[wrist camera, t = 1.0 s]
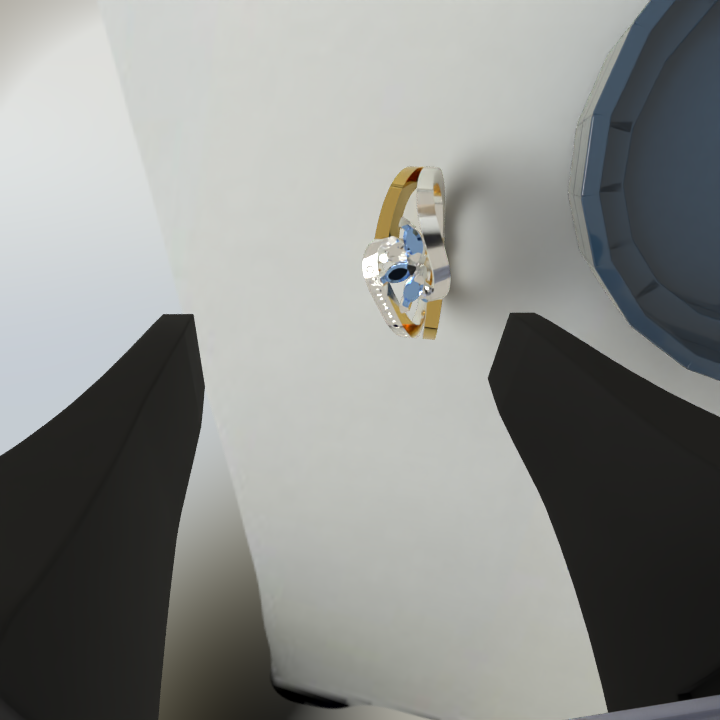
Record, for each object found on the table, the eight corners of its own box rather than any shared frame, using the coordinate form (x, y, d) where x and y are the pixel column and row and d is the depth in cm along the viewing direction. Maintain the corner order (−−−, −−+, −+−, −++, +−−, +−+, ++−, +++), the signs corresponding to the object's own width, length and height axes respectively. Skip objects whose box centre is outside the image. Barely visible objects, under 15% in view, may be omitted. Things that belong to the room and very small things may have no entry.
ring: (410, 166, 22) (361, 162, 15) (479, 169, 21) (461, 166, 14) (399, 308, 25) (352, 362, 18) (460, 315, 24) (437, 375, 17)
